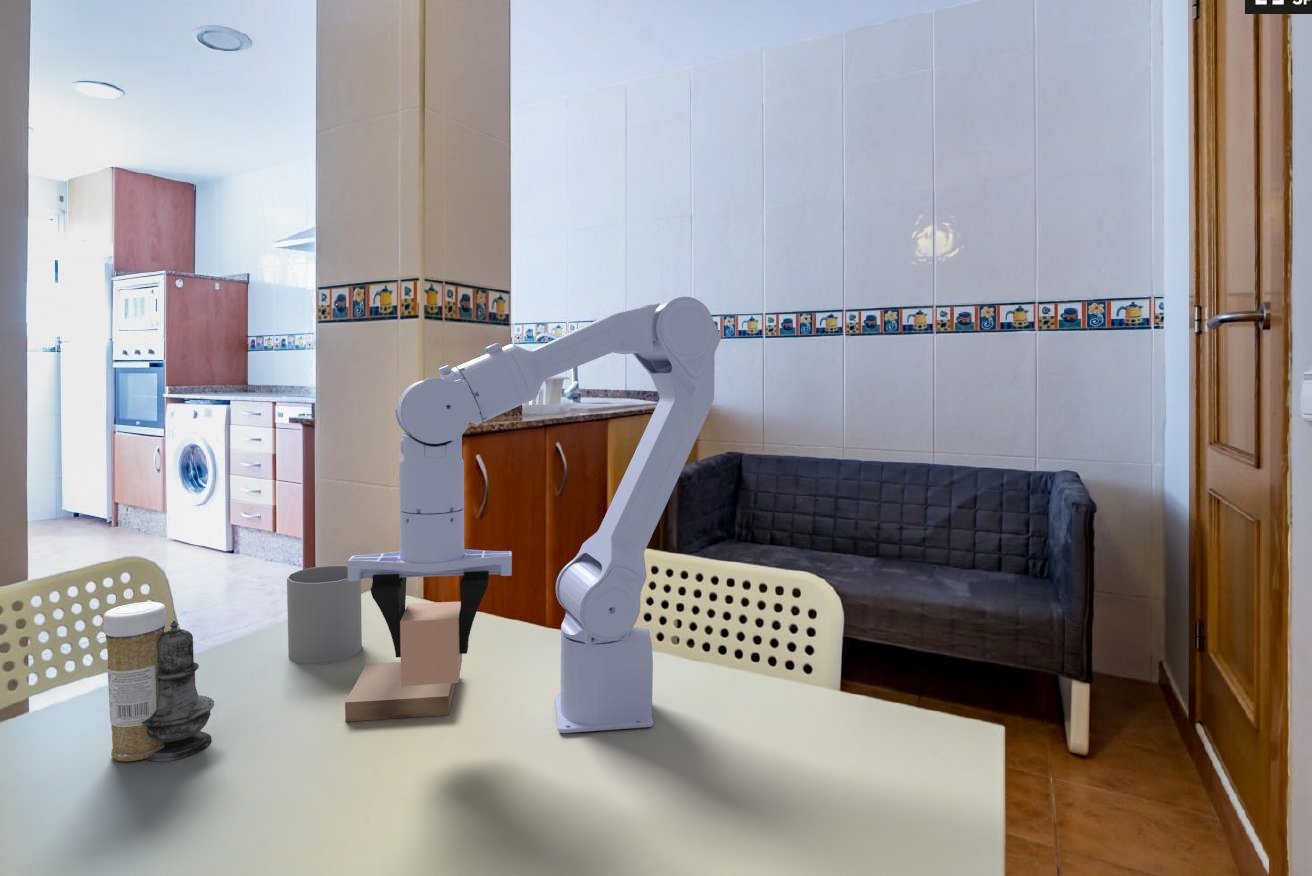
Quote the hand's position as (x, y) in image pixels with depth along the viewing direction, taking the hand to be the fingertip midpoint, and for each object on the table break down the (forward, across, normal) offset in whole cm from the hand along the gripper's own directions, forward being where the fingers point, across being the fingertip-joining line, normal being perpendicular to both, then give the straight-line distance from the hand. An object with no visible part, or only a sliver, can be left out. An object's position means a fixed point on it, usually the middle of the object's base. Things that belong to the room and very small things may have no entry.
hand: (432, 651), depth 67 cm
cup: (+9, +16, -26) cm, 32 cm away
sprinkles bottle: (+9, +26, -3) cm, 28 cm away
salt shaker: (+9, +23, -3) cm, 25 cm away
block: (+2, 0, 0) cm, 2 cm away
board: (+9, +4, -11) cm, 14 cm away
